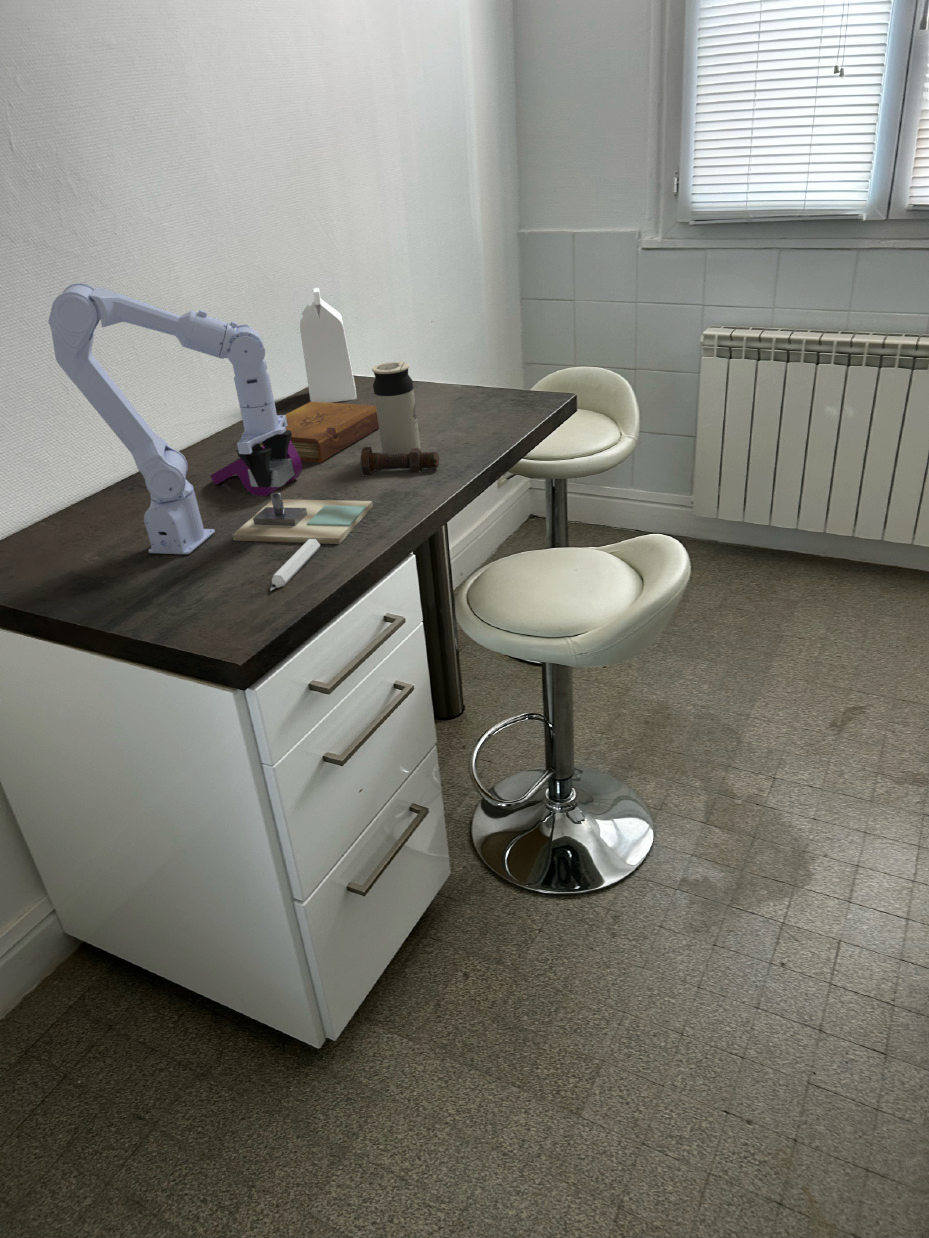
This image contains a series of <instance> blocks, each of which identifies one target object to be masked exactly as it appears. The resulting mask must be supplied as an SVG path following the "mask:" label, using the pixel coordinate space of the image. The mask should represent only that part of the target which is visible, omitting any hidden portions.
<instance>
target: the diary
mask: <svg viewBox="0 0 929 1238" xmlns="http://www.w3.org/2000/svg"><path fill="white" fill-rule="evenodd" d="M284 415H286V420H287V425H288V426H286V427H285V428H286V430H290V431H291V433H292V436H291V439H290V440H291V442H292V444H293V445H294V447H295V449H296V451H297V453H298V454H299V456H300V459H301V462H307V461H308V462H309V463H319V464H323V463H324V462H326V461H327V460H329V459H331V458H333V457H334V456H335V454H336V455H337V454H339V453H340V451H341V452H342V451H344V450H345V448H346V449H347V448H349V447H351V446H352V445H354V444H355V442H356V443H357V442H359V441H360V439H361V440H363V439H364V438H366V437H367V436H368V435H370V433H371V434H372V433H374V432H375V431H377V430H379V424H378V417H377V410H376V405H372V404H370V405H369V404H358V403H357V404H354V403H339V402H331V403H325V402H311V401H309V402H307V403H305V404H303V405H302V406H299V407H297V408H296V409H294V410H292V411H290V412H287V413H285V414H284ZM365 436H366V437H365ZM353 443H354V444H353ZM350 445H351V446H350ZM260 446H263V444H262V443H260ZM330 457H331V458H330ZM328 458H329V459H328ZM323 461H324V462H323ZM308 462H307V463H308Z"/></svg>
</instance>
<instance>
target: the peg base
mask: <svg viewBox="0 0 929 1238" xmlns="http://www.w3.org/2000/svg"><path fill="white" fill-rule="evenodd" d="M270 498H271V500H272V504H273V507H265V506H264V507H265V508H264V509H263V510H262V511H261V512H260V513H259V514H257V513H256V514H257V515H256V516H255V517H254V518H253V521H254V525H284V526H296V525H297V524H298V523H299V522H300V521H301V520H302V519H303V518H304V517H305V516H306V515H307V510H306V508H284V506H283V501H282V499H283V497H282V493H281V491H274V492H272V493H270Z"/></svg>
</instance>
